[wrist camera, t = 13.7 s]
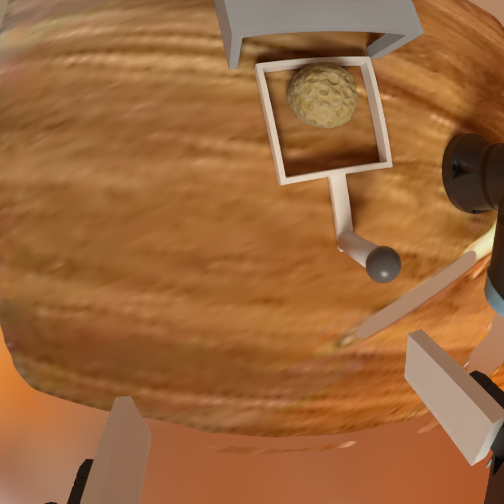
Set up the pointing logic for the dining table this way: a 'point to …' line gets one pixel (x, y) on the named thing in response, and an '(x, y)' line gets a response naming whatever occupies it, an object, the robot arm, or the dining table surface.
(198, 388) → the dining table surface
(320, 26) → the tunnel
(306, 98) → the rock
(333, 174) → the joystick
